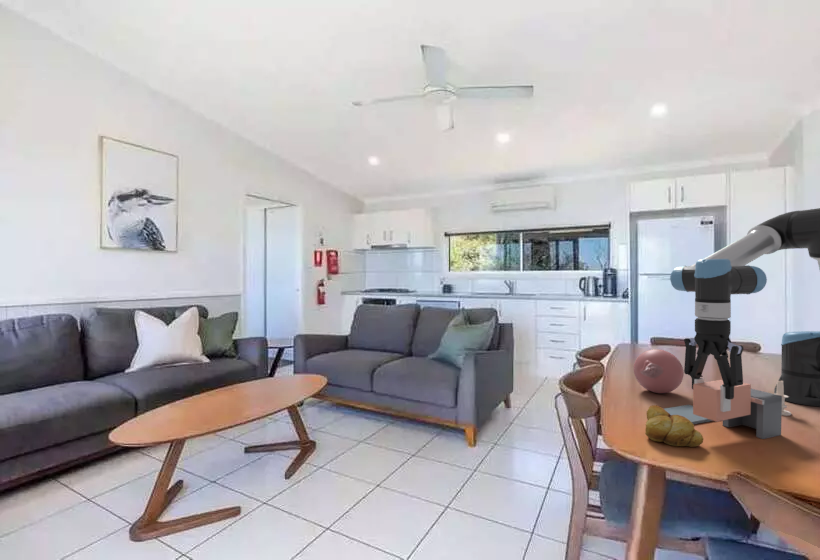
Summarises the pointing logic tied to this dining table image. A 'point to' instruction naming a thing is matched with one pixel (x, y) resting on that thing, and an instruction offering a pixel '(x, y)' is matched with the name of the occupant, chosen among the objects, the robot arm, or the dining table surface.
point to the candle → (781, 392)
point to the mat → (687, 413)
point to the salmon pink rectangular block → (709, 401)
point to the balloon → (658, 371)
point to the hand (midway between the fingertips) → (711, 406)
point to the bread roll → (671, 428)
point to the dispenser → (761, 415)
